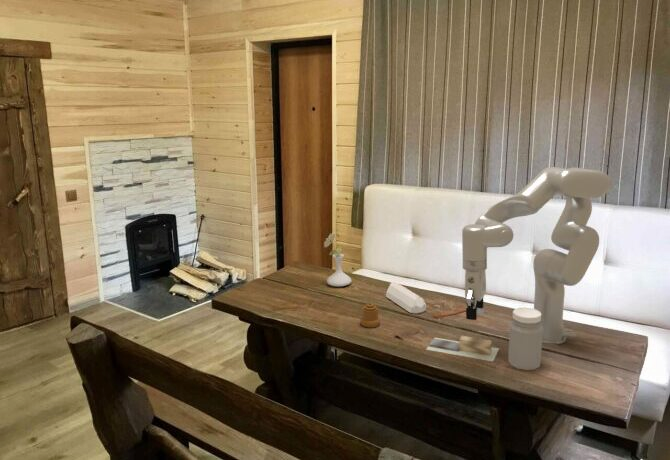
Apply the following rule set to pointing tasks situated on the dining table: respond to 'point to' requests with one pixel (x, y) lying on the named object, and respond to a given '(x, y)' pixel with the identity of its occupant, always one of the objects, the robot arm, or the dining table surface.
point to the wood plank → (408, 332)
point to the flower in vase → (337, 266)
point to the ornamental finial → (370, 316)
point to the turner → (465, 345)
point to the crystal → (405, 298)
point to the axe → (479, 311)
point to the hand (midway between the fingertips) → (474, 313)
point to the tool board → (466, 354)
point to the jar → (525, 339)
